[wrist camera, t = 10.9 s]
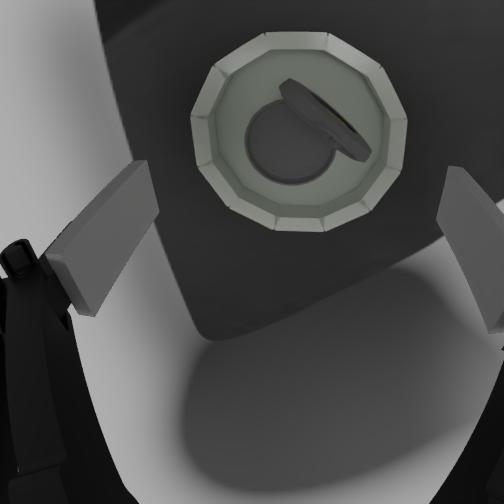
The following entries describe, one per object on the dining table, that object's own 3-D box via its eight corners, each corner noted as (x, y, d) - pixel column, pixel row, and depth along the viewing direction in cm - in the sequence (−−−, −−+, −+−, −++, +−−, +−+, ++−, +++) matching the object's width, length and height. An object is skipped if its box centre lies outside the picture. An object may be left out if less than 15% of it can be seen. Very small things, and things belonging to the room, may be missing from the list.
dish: (195, 41, 19) (181, 41, 17) (397, 42, 17) (410, 42, 15) (215, 210, 28) (206, 229, 26) (383, 215, 26) (390, 234, 23)
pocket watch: (244, 175, 25) (214, 252, 17) (249, 69, 19) (213, 86, 12) (347, 188, 24) (368, 271, 16) (366, 84, 19) (411, 113, 11)
